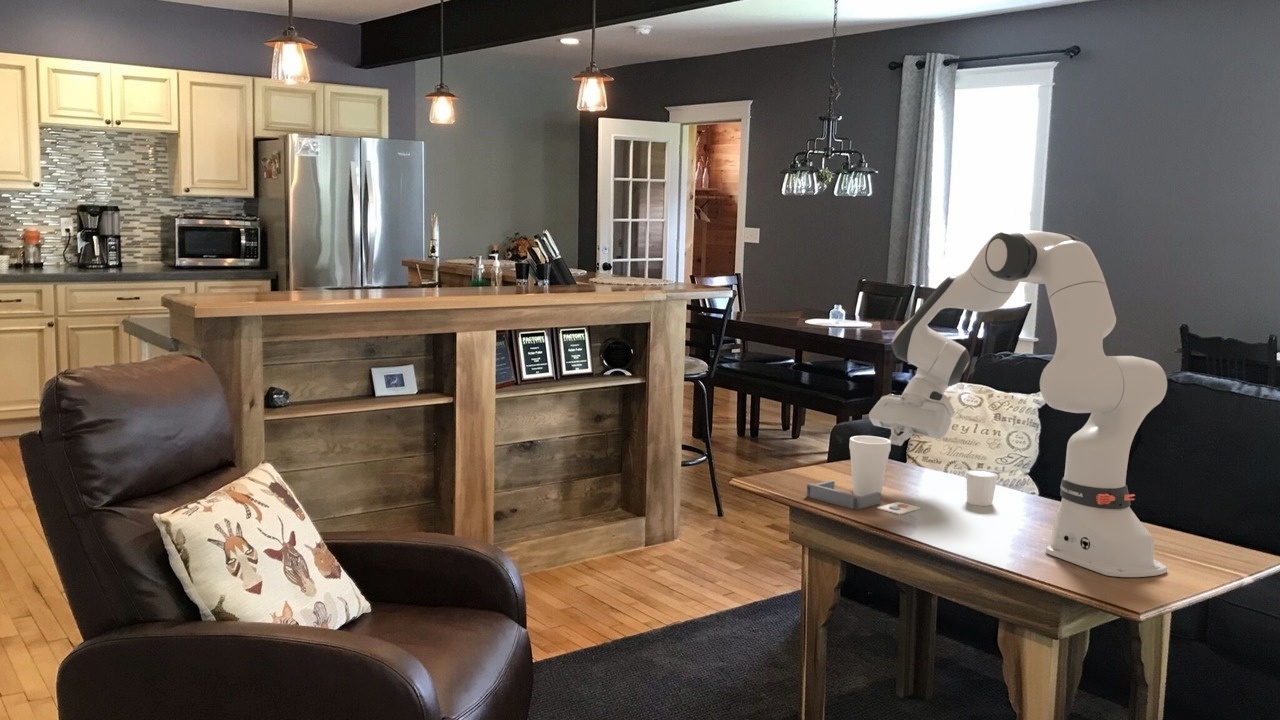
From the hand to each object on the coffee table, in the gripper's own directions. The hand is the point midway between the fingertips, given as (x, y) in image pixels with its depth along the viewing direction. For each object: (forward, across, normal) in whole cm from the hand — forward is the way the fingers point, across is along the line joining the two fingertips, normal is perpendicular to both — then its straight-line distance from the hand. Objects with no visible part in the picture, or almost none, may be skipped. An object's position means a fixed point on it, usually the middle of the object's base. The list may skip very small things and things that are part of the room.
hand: (894, 443), depth 254 cm
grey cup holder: (+21, 0, -6) cm, 22 cm away
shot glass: (+4, +20, +12) cm, 24 cm away
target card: (+18, +12, -3) cm, 22 cm away
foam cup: (+15, 0, +1) cm, 15 cm away
